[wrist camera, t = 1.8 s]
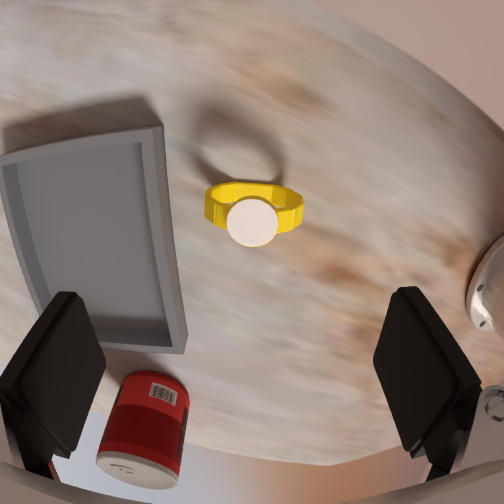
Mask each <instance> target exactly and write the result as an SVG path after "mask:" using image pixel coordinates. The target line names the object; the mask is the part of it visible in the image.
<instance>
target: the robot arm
mask: <svg viewBox="0 0 504 504" xmlns="http://www.w3.org/2000/svg"><path fill="white" fill-rule="evenodd" d="M466 310H467V314H468V317H469V319H470V321H471V322H472V323H473V325H474V326H475V327H476V328H477V329H478V330H481V331H486V332H491V331H496V332H497V333H498V334H499V336H500V337H501V338H502V340H503V341H504V235H503V236H501V237H500V238H499V239H498V240H497V241H496V242H495V243H494V244H493V245H492V246H491V248H490V249H489V250H488V251H487V253H486V254H485V255H484V257H483V259H482V260H481V262H480V263H479V265H478V267H477V269H476V271H475V273H474V275H473V277H472V280H471V283H470V285H469V289H468V293H467V299H466ZM373 364H374V368H375V370H376V373H377V375H378V378H379V381H380V383H381V386H382V389H383V391H384V394H385V397H386V399H387V402H388V405H389V408H390V410H391V413H392V416H393V419H394V422H395V424H396V427H397V430H398V433H399V436H400V439H401V442H402V445H403V448H404V449H405V451H409V452H410V455H411V458H412V459H414V458H417V457H421V456H424V455H427V458H428V460H429V463H428V466H427V468H426V470H425V473H424V475H423V477H422V479H421V481H420V483H419V484H417V485H414V486H411V487H407V488H403V489H399V490H396V491H391V492H388V493H383V494H379V495H375V496H371V497H367V498H361V499H357V500H351V501H345V502H340V503H333V504H504V387H503V386H499V385H490V386H488V387H486V388H485V389H484V390H482V388H481V386H480V384H481V383H482V382H481V380H480V378H479V377H478V375H477V373H476V372H475V370H474V368H473V367H472V365H471V364H470V362H469V360H468V359H467V357H466V356H465V354H464V353H463V351H462V349H461V348H460V346H459V345H458V343H457V342H456V340H455V339H454V337H453V336H452V334H451V333H450V331H449V330H448V328H447V327H446V325H445V324H444V322H443V321H442V320H441V318H440V317H439V315H438V314H437V312H436V311H435V310H434V308H433V307H432V305H431V304H430V303H429V301H428V300H427V299H426V297H425V296H424V294H423V293H422V292H421V290H420V289H419V288H418V287H417V286H409V287H400V288H398V289H397V291H396V292H394V293H393V294H392V296H391V300H390V303H389V307H388V310H387V314H386V317H385V321H384V324H383V328H382V331H381V334H380V337H379V341H378V344H377V347H376V350H375V353H374V356H373ZM105 368H106V359H105V356H104V354H103V352H102V349H101V347H100V344H99V342H98V339H97V337H96V334H95V331H94V329H93V326H92V323H91V321H90V318H89V315H88V312H87V310H86V307H85V304H84V301H83V299H82V298H81V297H80V296H78V294H77V293H76V292H72V291H59V292H58V293H57V294H56V295H55V296H54V298H53V299H52V300H51V302H50V303H49V304H48V306H47V307H46V309H45V310H44V311H43V313H42V314H41V315H40V317H39V318H38V320H37V321H36V323H35V324H34V325H33V327H32V328H31V330H30V331H29V333H28V334H27V336H26V337H25V339H24V340H23V342H22V343H21V345H20V346H19V348H18V349H17V351H16V352H15V354H14V355H13V357H12V359H11V360H10V362H9V363H8V365H7V367H6V368H5V370H4V371H3V373H2V375H1V376H0V504H151V503H145V502H139V501H133V500H128V499H123V498H117V497H113V496H109V495H104V494H100V493H96V492H92V491H88V490H85V489H81V488H78V487H74V486H71V485H68V484H64V483H61V481H60V479H59V477H58V474H57V472H56V470H55V467H54V465H53V462H52V456H53V454H55V455H57V456H60V457H63V458H67V459H69V457H70V455H71V451H72V452H73V451H75V449H76V447H77V445H78V442H79V439H80V436H81V432H82V430H83V427H84V424H85V421H86V418H87V416H88V413H89V410H90V407H91V405H92V402H93V399H94V397H95V394H96V391H97V389H98V386H99V383H100V381H101V378H102V376H103V373H104V371H105Z"/></svg>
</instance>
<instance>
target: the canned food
mask: <svg viewBox="0 0 504 504" xmlns="http://www.w3.org/2000/svg"><path fill="white" fill-rule="evenodd" d="M189 405H190V401H189V396H188V392H187V391H186V389H185V388H184V387H183V386H182V385H181V384H180V383H179V382H177V381H176V380H174V379H172V378H170V377H168V376H166V375H163V374H160V373H156V372H150V371H139V372H134V373H131V374H130V375H128V376H127V377H126V378H125V379H124V380H123V382H122V383H121V386H120V388H119V391H118V394H117V397H116V399H115V402H114V405H113V408H112V410H111V413H110V416H109V419H108V422H107V425H106V428H105V431H104V434H103V437H102V440H101V443H100V446H99V450H98V453H97V459H96V463H97V465H98V466H99V468H101V469H102V470H103V471H104V472H106V473H107V474H109V475H110V476H112V477H114V478H116V479H119V480H121V481H123V482H126V483H129V484H132V485H135V486H139V487H143V488H149V489H169V488H173V487H175V486H176V485H177V481H178V476H179V471H180V465H181V458H182V451H183V444H184V437H185V431H186V424H187V418H188V412H189Z"/></svg>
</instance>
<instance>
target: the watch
mask: <svg viewBox="0 0 504 504" xmlns="http://www.w3.org/2000/svg"><path fill="white" fill-rule="evenodd" d="M234 201H236V202H235V203H233V205H229V204H225V203H229V202H234ZM273 205H276V206H279V207H282V208H278V209H276V208H275V207H274V206H273ZM303 207H304V201H303V197H302V196H301V195H300V194H298V193H297V192H295V191H293V190H292V189H289V188H286V187H282V186H279V185H275V184H260V183H245V182H237V181H235V182H227V183H221V184H217V185H215V186H213V187H211V188H208V189H207V190H206V193H205V217H206V218H207V219H208V220H209V221H211V222H212V223H213V224H214V225H216V226H217V227H221V228H224V229H227V230H228V232H229V234H230V236H231V237H232V238H233V239H234V240H235V241H236V242H238V243H239V244H241V245H243V246H248V247H259V246H262V245H265V244H267V243H268V242H269V241H271V240H272V239H273V238H274V236H275V235H276V233H282V232H287V231H290V230H292V229H294V228H295V227H296V226H298V225H299V224H300V223H301V221H302V214H303Z"/></svg>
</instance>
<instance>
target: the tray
mask: <svg viewBox="0 0 504 504" xmlns="http://www.w3.org/2000/svg"><path fill="white" fill-rule="evenodd" d="M0 193H1V198H2V203H3V207H4V211H5V215H6V219H7V223H8V227H9V231H10V234H11V238H12V241H13V245H14V248H15V251H16V254H17V258H18V261H19V264H20V267H21V270H22V273H23V275H24V278H25V281H26V284H27V286H28V289H29V292H30V294H31V297H32V299H33V302H34V304H35V307H36V309H37V312H38V314H39V316H40V315H41V314H42V313H43V311H44V310H45V309H46V307H47V306H48V304H49V303H50V302H51V300H52V299H53V298H54V296H55V295H56V294H57V293H58V292H59V291H72V292H76V293H77V294H78V296H80V297H81V298H82V299H83V301H84V304H85V307H86V310H87V312H88V315H89V318H90V321H91V323H92V326H93V329H94V331H95V334H96V337H97V339H98V342H99V344H100V347H101V348H108V349H117V350H128V351H139V352H152V353H168V354H184V351H185V346H186V342H187V338H188V331H187V326H186V320H185V314H184V308H183V301H182V295H181V288H180V282H179V275H178V267H177V260H176V253H175V245H174V237H173V228H172V219H171V210H170V200H169V190H168V179H167V168H166V155H165V141H164V125H157V126H147V127H138V128H130V129H122V130H115V131H108V132H101V133H95V134H89V135H83V136H78V137H72V138H67V139H62V140H57V141H52V142H47V143H43V144H38V145H34V146H30V147H26V148H22V149H18V150H14V151H11V152H8V153H5V154H3V155H0Z"/></svg>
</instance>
